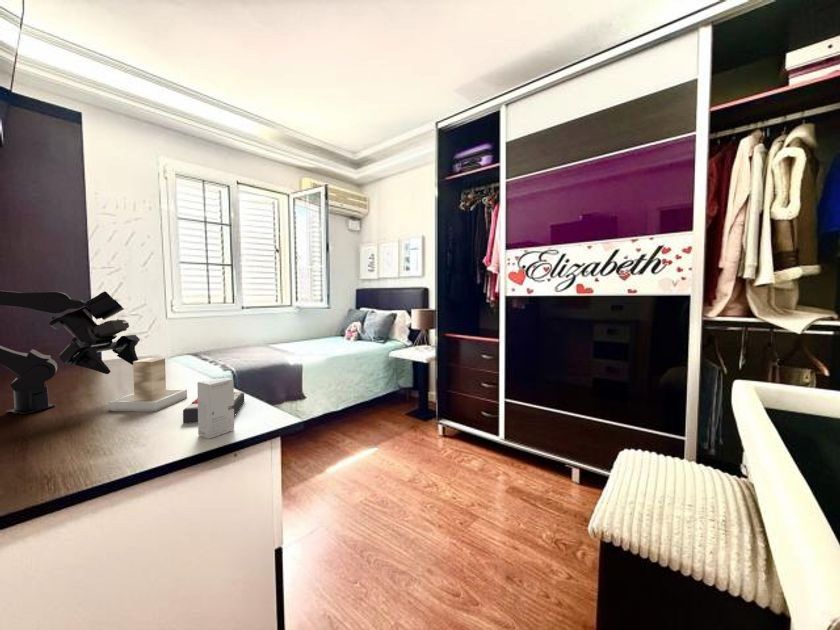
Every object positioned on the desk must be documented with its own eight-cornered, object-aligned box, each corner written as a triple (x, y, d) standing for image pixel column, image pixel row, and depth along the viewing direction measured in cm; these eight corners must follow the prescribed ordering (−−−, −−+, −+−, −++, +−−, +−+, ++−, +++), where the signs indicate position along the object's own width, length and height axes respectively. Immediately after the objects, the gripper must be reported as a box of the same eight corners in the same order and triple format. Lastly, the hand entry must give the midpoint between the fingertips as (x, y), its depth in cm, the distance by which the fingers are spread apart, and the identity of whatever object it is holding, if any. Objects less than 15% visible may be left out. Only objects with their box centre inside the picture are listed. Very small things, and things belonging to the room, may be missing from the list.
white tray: (109, 410, 90) (109, 401, 90) (146, 396, 102) (146, 388, 102) (155, 411, 90) (154, 402, 89) (187, 397, 102) (186, 389, 102)
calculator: (244, 390, 99) (233, 403, 85) (244, 404, 100) (233, 420, 85) (201, 392, 96) (182, 406, 82) (201, 407, 96) (182, 424, 82)
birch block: (134, 404, 93) (133, 361, 92) (149, 398, 98) (147, 358, 97) (152, 404, 93) (151, 361, 93) (166, 399, 98) (165, 358, 98)
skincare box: (210, 439, 73) (208, 384, 73) (196, 435, 75) (195, 382, 74) (235, 429, 79) (235, 378, 78) (223, 426, 81) (222, 376, 80)
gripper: (68, 311, 85) (112, 355, 85) (133, 308, 103) (169, 344, 104) (39, 341, 85) (83, 385, 86) (108, 333, 104) (144, 369, 104)
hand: (124, 369), depth 95 cm, fingers open, 9 cm apart
